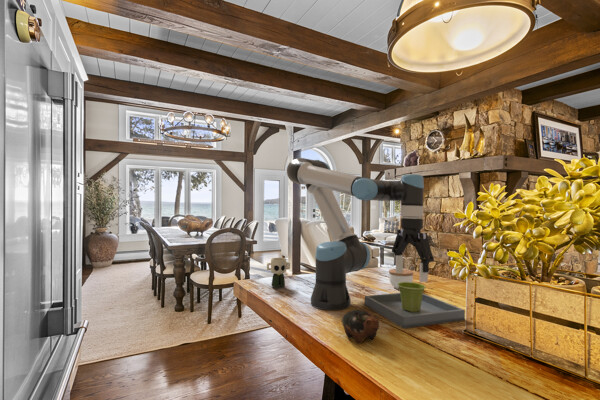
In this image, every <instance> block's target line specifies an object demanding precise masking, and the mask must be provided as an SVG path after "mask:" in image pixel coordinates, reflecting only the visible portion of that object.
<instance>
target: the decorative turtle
mask: <svg viewBox="0 0 600 400" xmlns="http://www.w3.org/2000/svg"><path fill="white" fill-rule="evenodd" d="M341 322H342V326H343V329H344V332H345V334H346V335H345V336H346V337H347V338H348V339H351V338H353V339H354V341H355V343H356V344H357V345H360V344H362V343H363V342H364V340H365V339H366V338H367V339H368V340H370V341H374V340H375V339H376V335H377V333H378V330H379V327H380V324H379V323H380V322H379V320H378V318H376V317H375V316H373V314H371V313H370V312H368V311H366V310H362V309H352V310H350V311H347V313H345V314H344V315H343V316H342V318H341Z"/></svg>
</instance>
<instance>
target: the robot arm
mask: <svg viewBox="0 0 600 400" xmlns="http://www.w3.org/2000/svg"><path fill="white" fill-rule="evenodd" d="M286 167H287V168H286V174H287V177H288V179H289V180H290V181H291V182H292V183H294V184H297V185H304V186H305V188H306V190H307V192H308V193H309V194H312V195H313V198H314V200H315V203H316V205H317V206H318V210H319V211H320V214H321V216H322V217H323V221H324V222H325V225H326V227H327V230H328V233H329V234H330V236H331V239H332V241H324V242H320V243H319V244H318V245H317V246H316V248H315V284H314V287H313V290H312V293H311V296H310V305H312V307H314V308H317V309H320V310H328V311H336V310H337V311H338V310H345V309H347V308H350V307H351V296H350V293H349V291H348V287H347V274H349V273H354V272H359V271H360V270H361V271H362V270H363V269H366V267H367V266H368V265H369V263H370V260H371V252H370V249H369V247H368V245H367V244H366V243H364V242H362V241H361V240H360V239H359V236H358V234H356V233H353V232H352V231H351V229H350V226H349V224H348V222H347V220H346V217H345V215H344V213H343V211H342V208H341V207H340V205H339V203H338V200H337V198H336V196H335V194H334V192H333V191H335V192H337V193H340V194H344V195H349V196H352V197H355V198H356V199H357V200H361V201H378V202H386V201H388V202H400V217H402V218H400V228H401V229H397V231H396V237H395V240H394V242H393V246H392V249H391V253H393V254H394V257H395V269H396V273H403V269H404V254H403V253H404V251H406V248H407V246H408V245H409V244H410V245H412V247H414V248H415V251H416V253H417V254H418V256H419V259H420V262H419V278H418V279H419V280H418V281H419V282H420V283H428V278H429V276H428V274H429V270H430V269H429V268H430V263H431V262H432V263H433V262H434V261H435V259H434V255H433V253H432V250H431V246H430V243H429V239H428V232H421V231H422V229H424V220H423V218H424V195H425V194H424V191H425V190H424V189H425V185H424V184H425V183H424V175H421V174H416V173H415V174H413V173H412V174H403V175H402V176H401V180H382V179H375V178H374V179H373V178H368V177H364V176H358V175H355V174H351V173H346V172H341V171H338V170H337V171H336V170H333V169H332V168H331V167H330V166H329V164H328V163H326V162H325V161H323V160H320V159H309V158H305V157H297V158H294V159H292V160H291V161H290V162H289V163H288V165H287V166H286ZM419 282H418V283H419Z"/></svg>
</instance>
